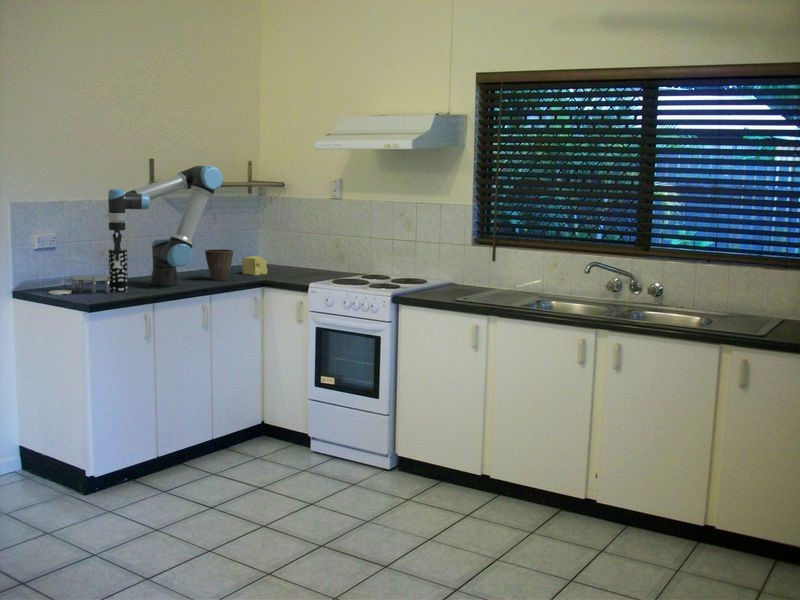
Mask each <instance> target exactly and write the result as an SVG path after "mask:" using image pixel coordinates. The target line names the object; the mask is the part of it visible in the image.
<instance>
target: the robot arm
mask: <svg viewBox="0 0 800 600" xmlns="http://www.w3.org/2000/svg"><path fill="white" fill-rule="evenodd" d="M222 183H223V174H222V172H221V171H220V169H218V168H217V167H215V166H213V165H195V166H192V167H190V168H187V169H185V170H182V171H179V172H177V174H176V175H174V176H171V177H168V178H165V179H161V180H158V181H156V182H153V183H150V184H146V185H144V186H141V187H138V188H135V189H132V190H129V191H126V190H125V189H122V188H121V189H120V188H117V189H115V188H110V189H109V190H108V194H107V195H108V196H107V197H108V198H107V200H108V201H107V202H108V204H107V205H108V214H106V217H108V221H109V222H108V230H109V231H114V233H113V234H112V238H113V241H112V242H113V243H114V244H113V249H114V252H113V254H114V268H120V249H122V248H121V243H122V237H123V236H122V235H123V234H122V233H121V231H125V230H126V210H148V209H149V208H150V206H151V201H152V200H155V199H157V198H162V197H164V196H167V195H170V194H173V193H176V192H178V191H181V190H183V191H187V190H192V192H191V194H190V195H189V196H190V197H189V199H188V202H187V203H186V207H185V209H184V212H183V213H182V216H181V219H180V221H179V224H178V226H177V228H176V230H175V234H173V235H171V236H170V237H169V238H166V239H165V238H163V239H154V240H153V241H152V244H151V245H152V246H151V249H152V251H151V252H152V254H151V255H152V271H151V274H150V277H149V285H151V286H157V285H158V286H159V287H160V286H161V287H162V286H163V285H164V286H166V285H167V287H168V285H170V286H177V285H181V280H180V276H179V273H178V271H177V268H183V267H185V266H187V265H188V264H190V263H191V261H192V259H193V251H192V249H193V247H194V246H193V245H194V244H193V242H192V240H193V238H194V234H195V233H196V230H197V228H198V226H199V223H200V221H201V219H202V218H201V217H202V215H203V212H204V210H205V208H206V205H207V203H208V200H209V198H210V197H213V196H214V193H215V191H216V190H217V189H220V187H221V185H222Z"/></svg>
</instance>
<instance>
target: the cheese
mask: <svg viewBox="0 0 800 600" xmlns="http://www.w3.org/2000/svg"><path fill="white" fill-rule="evenodd" d="M241 262H242V263H241V269H242V275H247V274H249V275H248V276H260V275H268V268H267V266H268V262H267V260H265V258H264V257H263V256H259V255H252V256H246V257H245V256H244V257H242V261H241Z"/></svg>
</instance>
